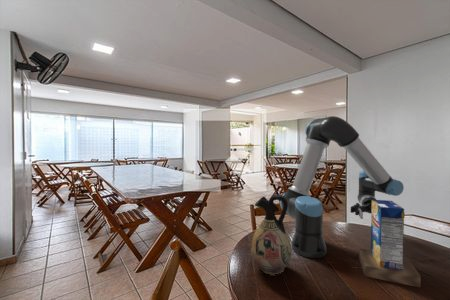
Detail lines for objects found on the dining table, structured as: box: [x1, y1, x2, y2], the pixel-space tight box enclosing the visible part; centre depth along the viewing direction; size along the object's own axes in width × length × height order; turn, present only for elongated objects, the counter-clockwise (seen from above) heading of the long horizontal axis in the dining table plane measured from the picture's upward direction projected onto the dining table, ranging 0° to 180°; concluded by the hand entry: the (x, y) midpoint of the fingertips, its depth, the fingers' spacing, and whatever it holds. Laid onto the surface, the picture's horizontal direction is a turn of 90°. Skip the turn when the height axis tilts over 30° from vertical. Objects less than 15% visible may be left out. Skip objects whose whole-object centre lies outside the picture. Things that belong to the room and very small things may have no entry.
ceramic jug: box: [250, 194, 292, 275], centre depth 84 cm, size 17×15×30 cm
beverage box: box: [370, 199, 405, 270], centre depth 82 cm, size 7×11×22 cm, turn 161°
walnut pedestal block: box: [358, 247, 422, 288], centre depth 83 cm, size 16×14×4 cm
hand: (380, 217), depth 90 cm, fingers open, 13 cm apart
